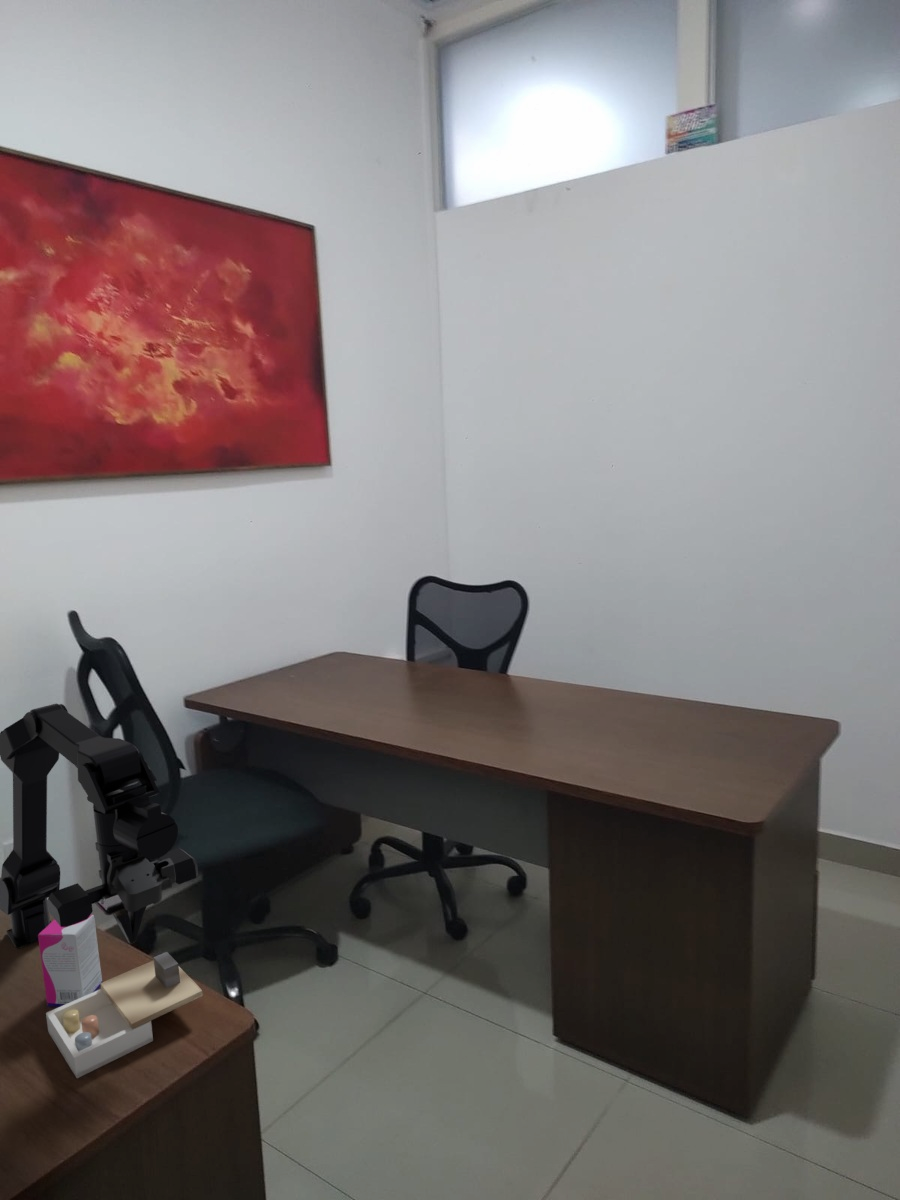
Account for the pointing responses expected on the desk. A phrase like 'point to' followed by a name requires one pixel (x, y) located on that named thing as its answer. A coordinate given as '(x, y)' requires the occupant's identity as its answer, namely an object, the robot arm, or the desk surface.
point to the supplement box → (69, 961)
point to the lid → (150, 990)
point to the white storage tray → (94, 1032)
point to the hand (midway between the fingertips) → (131, 941)
